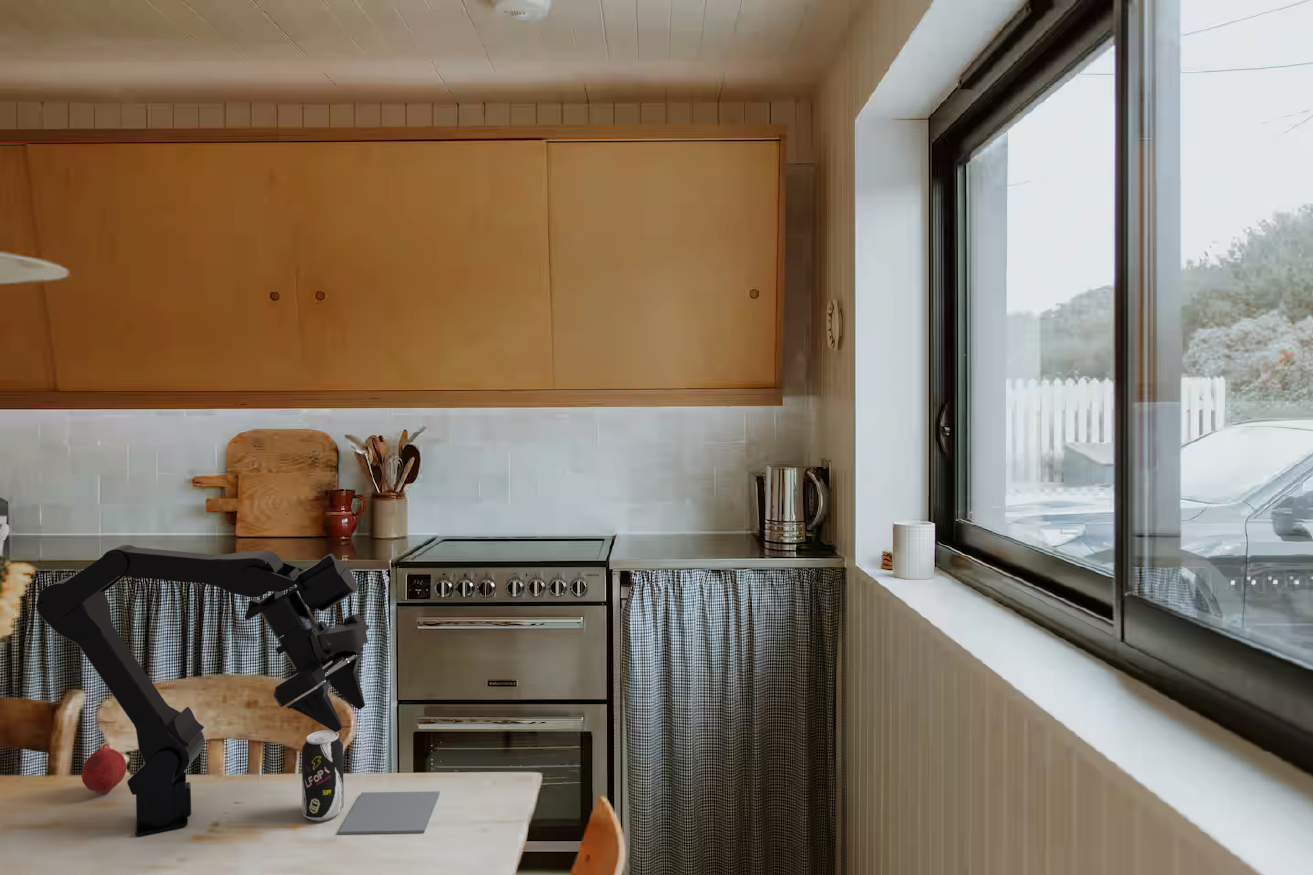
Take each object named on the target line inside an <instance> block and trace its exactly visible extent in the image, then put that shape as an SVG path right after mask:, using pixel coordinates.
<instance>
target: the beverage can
mask: <svg viewBox="0 0 1313 875" xmlns="http://www.w3.org/2000/svg"><path fill="white" fill-rule="evenodd" d="M339 736H340V734H339V731H337V732H334V731H332V730H331V729H327V730H324V729H323V730H319V731H318V730H317V731H315V732H312V733H310V734H308V735H307V736H306V740H305V743H304V744H303V745H302V748H301V793H302V794H301V796H302V797H301V798H302V799H301V802H302V805H301V807H302V809H301V812H302V815H303V817H305V818H306V819H309V820H310V819H311V821H313V822H323V821H328V820H331V819H333V818H335V817H336V816H337V815H339V814H340V813H341V812H342V811H343V810H344V743H343V741H342V740H341V738H340V737H339ZM330 818H331V819H330Z"/></svg>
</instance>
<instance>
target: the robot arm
mask: <svg viewBox="0 0 1313 875" xmlns="http://www.w3.org/2000/svg"><path fill="white" fill-rule="evenodd" d="M124 577H126V578H127V577H128V578H137V579H148V580H158V581H159V580H160V581H170V582H181V583H182V582H183V583H193V584H195V583H196V584H204V585H205V584H206V585H209V586H213V587H216V588H219V589H220V590H222V591H224V592H227V593H231V594H236V595H240V596H243V597H247V598H253V599H250V600H249V601H248V607H247V610H246V613H245V615H244V619H245V620H246V621H248V620H251V619H253V618H255V617H257V616H259V615H261V616H262V618H263V620H264V621H265V623H266V625H267V626H268V628H269V629H270V630H271V632H272V634H273V636H274V637H275V640H276V641H277V642H278V644H279V646H278V647H276V648H275V651H276V652H277V654H278V655H281V654H283V653H285V655H286V657H287V658H288V660H289V662H290V664H291V665H292V667H293V668H294V670H292V671H291V672H290V675H291V676H290V677H288V678H287V679H285V680H284V681H283V682H281V683H279V684H278V685H276V687H275V689H274V692H273V698H274V699H275V701H276V702H277V704H278V705H279V707H280V708H283V707H284V706H286V705H287V706H286V708H287V709H288V710H291V709H293V710H294V711H296V712H298V713H300V714H303V715H304V716H306V717H308V718H310V719H312V720H314V721H315V722H317V723H319V724H321V725H322V726H324V727H326V728H327V729H328V730H331V731H334V732H339V731H341V730H342V729H343V725H342V722H341V720H340V717H339V715H338V713H337V711H336V709H335V706H334V705H333V703H332V701H331V698H330V696H329V688H330V686H331V687H332V688H333V689H334V690H335V691H336V692H338V694H340V695H341V697H343V698H344V699H345V700H347V702H349V704H351V705H352V706H354V708H356V709H357V710H362V709H363V708H364V707H366V703H365V700H364V696H363V695H364V694H363V691H362V690H363V689H362V687H361V686H362V685H361V682H360V678H359V673H358V668H359V664H360V662H361V659H362V658H363V654H362V653H361V652H362V651H363V650H364V646H363V645H364V644H368V643H369V640H368V633H367V631H368V630H369V629H370V626H369V625H368V624H367V623H366V620H365V619H364V620H363V618H362V617H361V616H360V615H359V613H355V614H351V615H348V616H346V617H345V618H344V620H343V623H342V624H338V625H337V626H334V627H333V626H332V627H329V626H328V624H327V622H325V621H323V620H320V621H319V622H318V623H317V620H316V619H315V618H314V616H313V614H312V613H311V611H310V610H313V611H316V610H318V611H319V612H325V611H326V610H328V609H330V608H332V607H333V606H335V605H336V604H338V603H339V602H342V601H343V600H345V599H346V598H348V597H350V596H352V595H353V594H354V593H356V592H358V584H357V581H356V580H355V577H354V575H353V574H352V571H351V570H350V569H349V568H348V567H346V566H345V565H344V564H343V562H342V561H340V560H339V559H337V558H336V556H335V555H334V554H333V553H329V554H327V555H326V556H324V557H323V558H322V559H320V561H318V562H316V563H315V564H313V565H312V566H310V567H308V568H306V569H305V568H302V567H299V566H296V565H293V564H291V563H289V562H288V563H287V562H284V561H283V560H282V559H281V558H280V557H279V555H278V554H277V553H275V552H274V551H270V550H251V551H250V550H249V551H240V552H233V553H226V554H210V553H201V552H199V553H198V552H189V551H178V550H171V549H170V550H168V549H160V548H159V549H158V548H148V547H136V546H133V545H131V544H123V545H120V546H117V547H116V548H113V549H110V550H108V551H106V552H105V553H104V554H103V555H102V556H101V557H100V558H99V559H97V560H96V561H94V562H93V563H92V564H90V565H89V566H86V567H85V568H84V569H83V570H81V571H79V572H78V573H77V574H73V575H70V576H68V577H66V578H63V579H62V580H59V581H57V582H55V583H52V584H50V585H48V586H46V587H44V588H43V589H42V591H41V592H40V593H39V595H38V598H37V600H36V604H35V608H36V611H37V614H38V615H39V617H40V618H41V619H42V620H43V621H44V622H45V623H46V624H47V625H48V626H49V627H50V628H51V629H53V631H54V632H55V633H56V634H58V635H60V636H62V637H63V638H65V639H67V640H69V641H70V642H72V643H74V644H76V646H78V647H79V648H80V650H81V651H82V653H83V654H84V655H85V657H86V659H87V660H88V662H89V663H90V664H91V666H92V667H93V669H94V670H95V671H96V673H97V674H98V675H99V677H100V679H101V680H102V681H103V683H104V685H105V686H106V687H107V689H108V690H109V692H110V693H111V695H112V696H113V698H114V699H115V700H116V702H117V703H118V704H119V706H120V707H121V709H122V710H123V712H124V713H125V714H126V716H127V718H129V720H130V721H131V723H132V724H133V726H134V728H135V734H136V739H137V747H138V752H139V754H140V755H141V758H142V760H143V764H142V765H141V766H140V767H139V768H138V770H136V772H134V774H132V776H131V777H130V778H129V779H128V780H127V786H128V788H129V790H130V792H131V795H133V796H134V795H135V808H136V810H135V811H136V812H135V813H136V814H135V815H136V817H135V818H136V819H135V820H136V821H135V830H134V835H135V837H140V836H145V835H151V834H155V833H160V832H164V831H169V830H170V831H171V830H174V829H179V828H184V827H186V826H188V825H189V824H188V822H189V820H188V817H189V818H190V816H191V815H192V797H191V796H192V794H191V793H192V789H191V784H192V783H191V782H190V781H187V775H186V774H187V772H186V770H187V769H188V768H189V766H191V764H192V763H193V762H194V761H195V759H196V758H197V757H198V756H199V755H200V753H201V751H202V750H203V747H204V745H205V743H204V742H205V736H204V734H203V732H202V731H203V729H205V726H204V725H202V724H201V723H199V722H198V720H197V719H196V717H195V715H194V713H193V710H192V709H191V707H189V706H186V707H185V708H183V709H182V710H181V711H179V710H177V709H175V708H173V707H172V706H169V705H168V704H167V702H166V700H165V698H163V696H162V695H161V694H160V692H159V691H158V690H157V688H156V686H155V685H154V683H153V682H152V681H151V679H150V677H149V676H148V675H147V673H146V672H145V671H144V669H143V668H142V666H141V665H140V663H139V661H138V660H137V659H136V657H135V656H134V653H132V651H131V650H130V649H129V647H128V645H127V644H126V643H125V641H124V640H123V639H122V637H121V635H120V634H119V632H118V631H117V630H116V628H115V627H114V625H113V621H112V614H111V609H110V607H111V606H110V603H109V600H108V598H107V595H106V593H105V592H107V591H108V590H110V589H111V588H112V587H113V586H115V585H116V584H117V583H119V582H120V581H121V580H122V579H123V578H124ZM295 585H296V587H294V586H295ZM292 587H293V588H292ZM290 588H292V589H291V590H289V591H287V590H288V589H290ZM285 591H287V592H286V593H284V592H285ZM269 592H270V594H269V595H267V596H266V597H264V598H262V599H257V598H259V597H262V596H264V595H266V594H267V593H269ZM271 592H272V593H271ZM309 609H310V610H309ZM360 653H361V654H360ZM358 654H359V655H358ZM354 656H355V657H354ZM327 673H328V674H327ZM326 674H327V675H326Z"/></svg>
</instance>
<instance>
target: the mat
mask: <svg viewBox="0 0 1313 875" xmlns="http://www.w3.org/2000/svg"><path fill="white" fill-rule="evenodd" d="M440 793H441V792H440V791H439V790H438V791H436V790H435V791H382V792H381V791H380V792H379V791H378V792H375V791H374V792H373V791H371V792H370V791H369V792H365V791H364V792H361V794H359V796H358V798H357V800H356V801H355V803H354V805H353V806H352V808H351V811H349V813H348V815H347V817H346V819H345V820H344V822H343V824H342V825H341V827H340V828H339V830H338V835H374V834H375V833H376V834H375V835H378V833H379V835H380V834H381V835H382V834H388V835H389V834H390V835H391V834H425V832H426V830H427V827H428V824H429V822H430V818H431V816H432V814H433V812H434V809H435V806H436V804H437V802H438V799H439V796H440Z"/></svg>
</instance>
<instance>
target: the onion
mask: <svg viewBox="0 0 1313 875" xmlns="http://www.w3.org/2000/svg"><path fill="white" fill-rule="evenodd" d="M110 745H111V744H110V743H109V742H103V743H102V744H100V746H99V747H98V749H97V750H96V751H95V752H93V753H92V754H91V755H90V756H89V757H88V758H87V759H86V761H85V763H84V764H83V767H82V770H81V780H82V783H83V785H84V786H85V787H86V788H87V789H89V790H90V791H92V792H95V793H97V794H101V795H107V794H109V793H110V792H111V791H112V790H113V789H114V788H115V787H117V786H118V785H119V784H120V783H121V782H122V780H123V779H124V777H125V776H126V773H127V763H126V762H127V761H126V760H125V757H124V756H123V755H122V754H121V753H120V751H117V750H115V749H113V748H110Z"/></svg>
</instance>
